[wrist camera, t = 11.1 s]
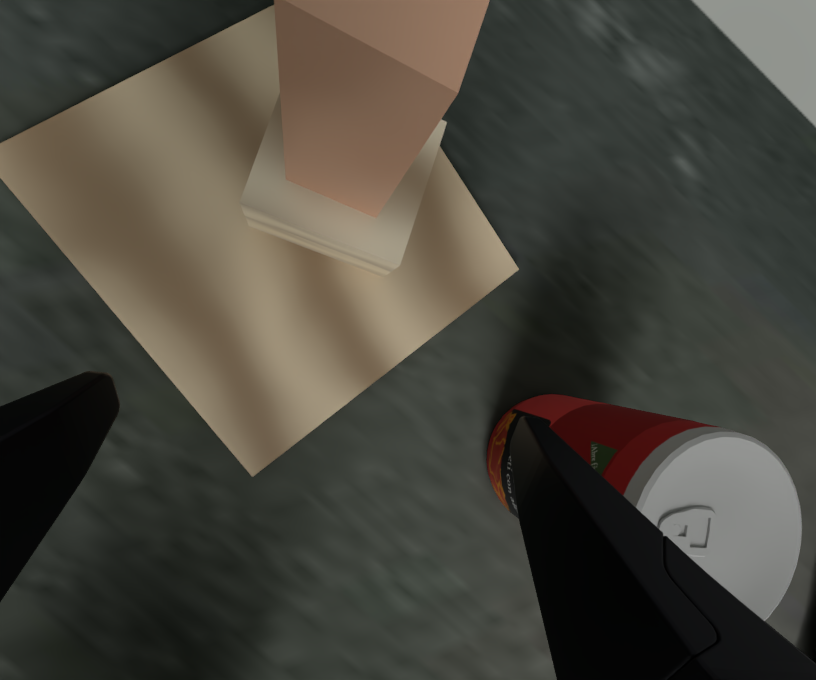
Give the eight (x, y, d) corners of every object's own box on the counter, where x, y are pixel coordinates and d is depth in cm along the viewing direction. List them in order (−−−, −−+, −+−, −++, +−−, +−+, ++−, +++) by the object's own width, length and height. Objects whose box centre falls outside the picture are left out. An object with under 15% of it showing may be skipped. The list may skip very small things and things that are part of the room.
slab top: (391, 272, 20) (400, 265, 18) (244, 215, 18) (239, 202, 17) (434, 140, 21) (446, 122, 19) (296, 73, 19) (296, 47, 17)
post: (376, 217, 18) (458, 93, 9) (285, 179, 17) (273, -6, 8) (404, 135, 18) (512, -68, 9) (318, 92, 17) (341, -181, 8)
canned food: (476, 399, 24) (621, 447, 13) (594, 384, 26) (800, 415, 15) (486, 530, 24) (636, 681, 13) (602, 505, 26) (811, 619, 16)
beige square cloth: (253, 473, 21) (252, 477, 20) (-10, 159, 18) (-20, 153, 17) (513, 271, 25) (519, 269, 24) (329, -15, 22) (330, -24, 21)
